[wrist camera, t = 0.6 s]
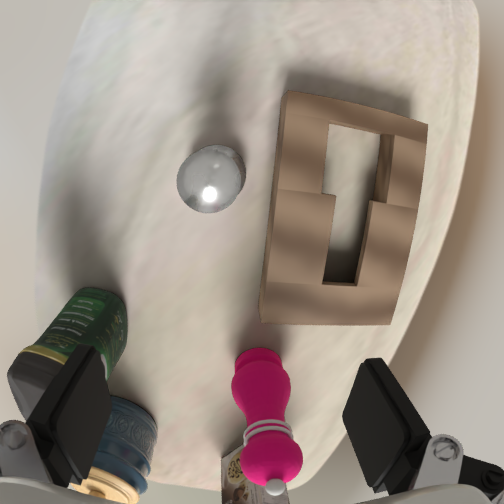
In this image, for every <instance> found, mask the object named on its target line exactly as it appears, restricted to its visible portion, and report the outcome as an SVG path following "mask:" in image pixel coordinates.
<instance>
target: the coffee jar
mask: <svg viewBox="0 0 504 504" xmlns="http://www.w3.org/2000/svg"><path fill="white" fill-rule="evenodd" d="M126 342H127V316H126V310H125V306H124V304H123V302H122V301H121V300H120V299H119V298H118V297H117V296H116V295H115V294H113V293H111V292H108V291H106V290H102V289H97V288H83V289H80V290H79V291H78V292H77V293H76V294H75V295H74V296H73V297H72V298H71V299H70V300H69V301H68V303H67V304H66V305H65V306H64V308H63V309H62V311H61V312H60V313H59V314H58V316H57V317H56V318H55V319H54V321H53V322H52V323H51V324H50V326H49V327H48V328H47V329H46V331H45V332H44V333H43V334H42V336H41V337H40V338H39V339H38V340H37V341H36V342H35V343H34V344H33V345H31V346H28V347H26V348H25V349H23V350H22V351H21V352H20V353H19V354H18V356H17V357H16V359H15V360H14V362H13V364H12V365H11V367H10V368H9V370H8V373H7V377H8V382H9V385H10V388H11V391H12V394H13V396H14V399H15V401H16V403H17V405H18V408H19V410H20V412H21V414H22V415H23V417H24V418H25V420H26V421H27V419H28V418H29V416H30V414H31V413H32V411H33V409H34V408H35V406H36V405H37V403H38V401H39V400H40V398H41V397H42V395H43V393H44V392H45V390H46V389H47V387H48V386H49V384H50V382H51V381H52V379H53V378H54V377H55V376H56V375H57V374H58V373H59V371H60V370H61V368H62V367H63V365H64V364H65V362H66V361H67V359H68V358H69V356H70V355H71V353H72V352H73V351H74V349H75V348H76V346H77V345H78V344H79V343H82V344H88V345H93V346H95V348H96V350H98V351H99V352H100V355H101V360H102V364H103V369H104V373H105V378H106V382H107V380H108V378H109V376H110V374H111V372H112V370H113V369H114V367H115V365H116V363H117V362H118V360H119V358H120V356H121V355H122V353H123V351H124V349H125V347H126Z"/></svg>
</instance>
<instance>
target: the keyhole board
mask: <svg viewBox="0 0 504 504" xmlns="http://www.w3.org/2000/svg"><path fill="white" fill-rule="evenodd" d="M329 123H330V124H335V125H340V126H345V127H350V128H354V129H359V130H363V131H368V132H372V133H376V134H380V135H381V138H380V148H379V157H378V165H377V173H376V181H375V188H374V195H373V201H372V200H369V206H368V213H367V219H366V225H365V230H364V236H363V241H362V247H361V252H360V257H359V262H358V267H357V272H356V276H355V281H354V283H342V282H324V281H322V280H323V275H324V270H325V264H326V258H327V253H328V247H329V241H330V235H331V228H332V222H333V215H334V209H335V202H336V196H335V195H331V194H324V193H321V190H322V183H323V175H324V166H325V158H326V149H327V139H328V130H329ZM427 132H428V124H425V123H422V122H419V121H416V120H413V119H410V118H407V117H404V116H400V115H397V114H394V113H390V112H387V111H383V110H379V109H376V108H372V107H368V106H364V105H360V104H356V103H352V102H347V101H343V100H338V99H334V98H329V97H324V96H319V95H313V94H308V93H302V92H296V91H289V90H288V91H287V92H286V93H285V95H284V96H283V97H282V99H281V108H280V118H279V128H278V137H277V147H276V156H275V165H274V174H273V183H272V192H271V201H270V210H269V219H268V228H267V236H266V245H265V253H264V262H263V270H262V279H261V287H260V295H259V303H258V309H259V314H260V319H261V323H269V324H294V325H390V324H391V321H392V317H393V314H394V311H395V307H396V304H397V300H398V297H399V293H400V289H401V286H402V282H403V278H404V274H405V270H406V266H407V262H408V257H409V253H410V248H411V244H412V239H413V234H414V229H415V224H416V218H417V213H418V207H419V201H420V194H421V187H422V180H423V172H424V164H425V155H426V144H427Z"/></svg>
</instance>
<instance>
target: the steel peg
mask: <svg viewBox="0 0 504 504" xmlns="http://www.w3.org/2000/svg"><path fill="white" fill-rule="evenodd" d="M245 179H246V169H245V165H244V162H243V160H242V159H241V157H240V156H239V155H238V154H237V153H236V152H235V151H234V150H232V149H231V148H228V147H226V146H222V145H211V146H207V147H204V148H202V149H200V150H199V151H198V152H195V153H193V154H192V155H190V156H189V157H188V158H187V159H186V160H185V161H184V162H183V163H182V165H181V167H180V169H179V171H178V175H177V189H178V192H179V195H180V197H181V198H182V200H183V201H184V202H185V203H186V204H187V205H188V206H189V207H190V208H192V209H194V210H196V211H198V212H202V213H215V212H219V211H221V210H223V209H225V208H227V207H228V206H229V205H230V204H232V203H233V201H234V200H235V199H236V197H237V195H238V194H239V193H240V191H241V190H242V188H243V186H244V183H245Z"/></svg>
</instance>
